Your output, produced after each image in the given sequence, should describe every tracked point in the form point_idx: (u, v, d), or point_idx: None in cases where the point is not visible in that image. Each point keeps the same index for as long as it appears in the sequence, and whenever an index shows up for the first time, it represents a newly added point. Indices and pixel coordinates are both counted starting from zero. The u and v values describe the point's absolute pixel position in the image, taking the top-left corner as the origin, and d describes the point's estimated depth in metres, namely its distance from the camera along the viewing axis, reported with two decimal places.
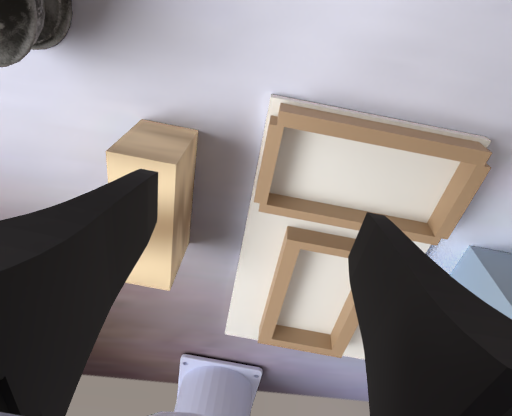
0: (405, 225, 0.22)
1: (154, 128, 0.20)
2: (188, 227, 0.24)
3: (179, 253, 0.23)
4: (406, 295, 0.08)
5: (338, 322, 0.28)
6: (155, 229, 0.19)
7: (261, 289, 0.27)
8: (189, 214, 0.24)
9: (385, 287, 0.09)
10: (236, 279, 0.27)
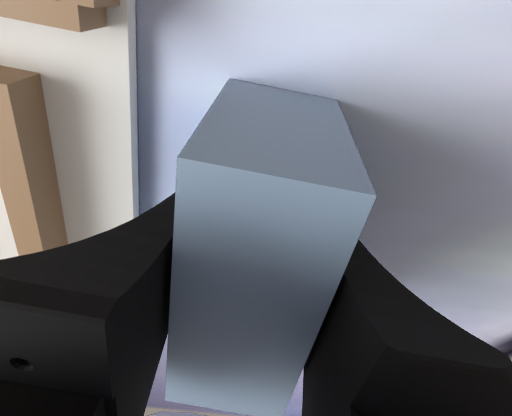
0: None
1: None
2: None
3: None
4: None
5: None
6: None
7: None
8: None
9: None
10: None
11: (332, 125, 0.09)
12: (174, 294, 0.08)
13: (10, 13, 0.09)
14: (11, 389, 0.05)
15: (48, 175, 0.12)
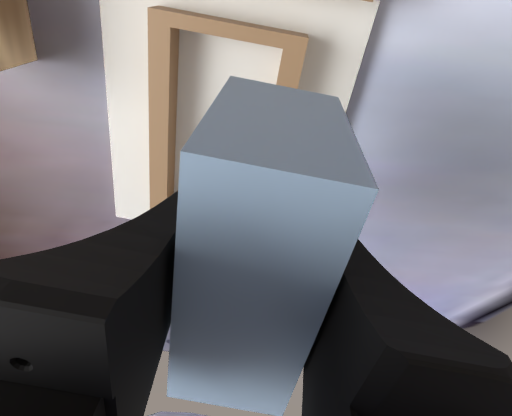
0: None
1: None
2: (22, 20, 0.17)
3: None
4: None
5: None
6: None
7: (147, 133, 0.20)
8: None
9: None
10: (110, 117, 0.19)
11: (333, 121, 0.09)
12: (176, 289, 0.08)
13: None
14: (11, 389, 0.05)
15: None
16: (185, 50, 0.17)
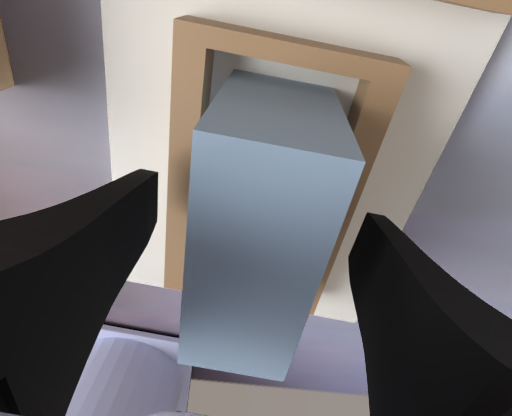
0: None
1: None
2: None
3: None
4: (406, 295, 0.08)
5: None
6: None
7: (162, 183, 0.15)
8: None
9: (385, 287, 0.09)
10: (113, 162, 0.14)
11: (328, 108, 0.10)
12: (188, 258, 0.09)
13: None
14: None
15: None
16: (221, 77, 0.12)
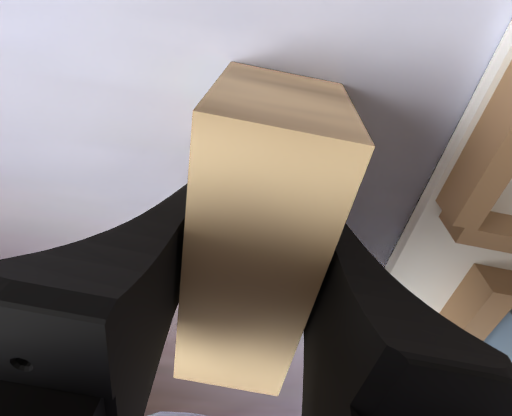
0: None
1: (265, 76, 0.10)
2: None
3: None
4: (333, 281, 0.08)
5: None
6: (278, 293, 0.09)
7: None
8: None
9: None
10: None
11: None
12: None
13: None
14: (11, 389, 0.05)
15: None
16: None
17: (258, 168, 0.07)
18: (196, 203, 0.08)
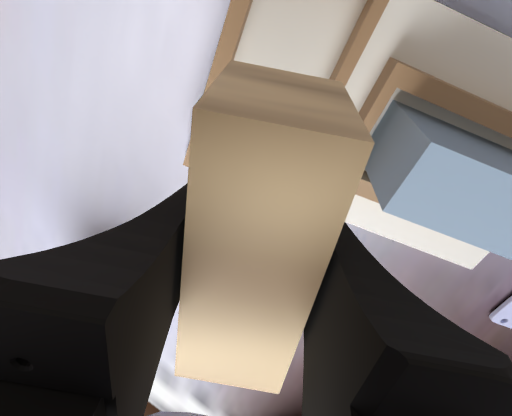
0: (352, 37, 0.16)
1: (265, 74, 0.10)
2: None
3: None
4: (333, 281, 0.08)
5: None
6: (278, 291, 0.09)
7: None
8: None
9: None
10: (386, 236, 0.23)
11: (401, 123, 0.16)
12: (450, 234, 0.16)
13: (368, 35, 0.16)
14: (11, 389, 0.05)
15: (451, 85, 0.17)
16: None
17: (258, 165, 0.07)
18: (196, 200, 0.08)
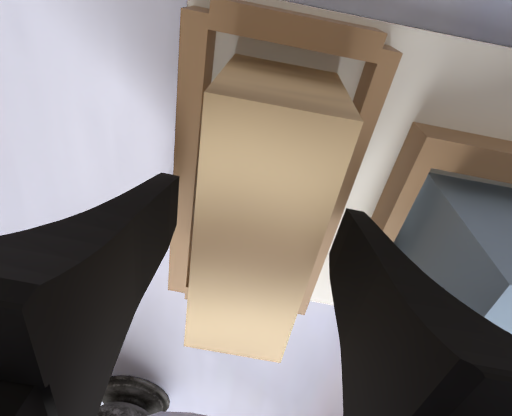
0: None
1: (266, 66, 0.11)
2: None
3: None
4: (377, 290, 0.08)
5: None
6: (279, 261, 0.10)
7: None
8: None
9: (360, 282, 0.09)
10: None
11: (447, 220, 0.11)
12: None
13: (377, 111, 0.11)
14: None
15: (511, 144, 0.12)
16: None
17: (261, 143, 0.08)
18: (206, 176, 0.09)
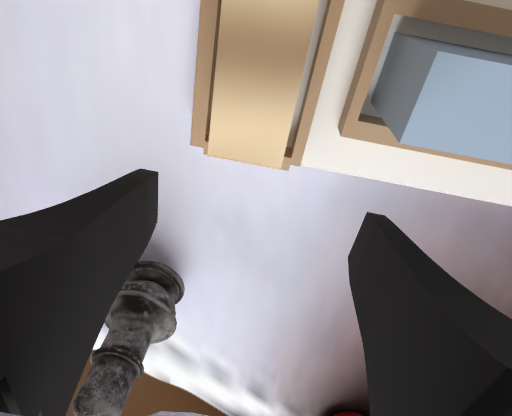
0: None
1: None
2: None
3: None
4: (406, 295, 0.08)
5: None
6: (280, 60, 0.14)
7: (440, 158, 0.20)
8: None
9: (385, 287, 0.09)
10: (416, 186, 0.22)
11: (406, 49, 0.15)
12: (481, 156, 0.14)
13: None
14: None
15: None
16: (374, 110, 0.19)
17: None
18: None
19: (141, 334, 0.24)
